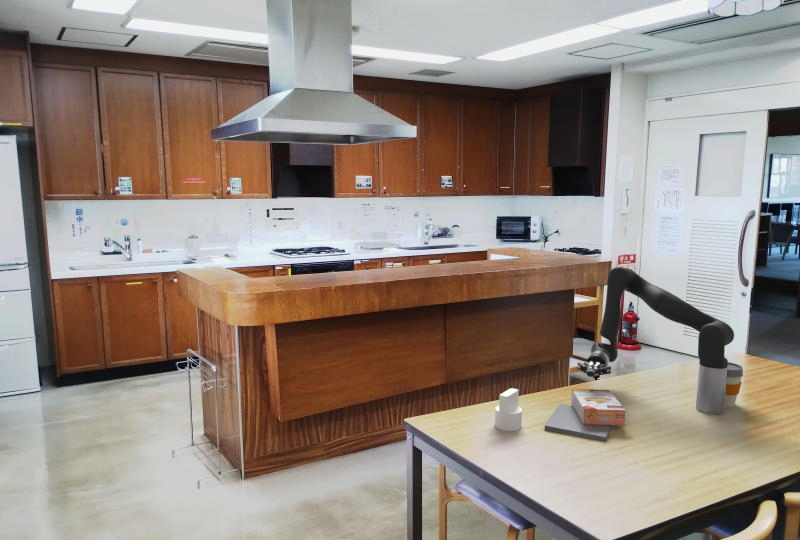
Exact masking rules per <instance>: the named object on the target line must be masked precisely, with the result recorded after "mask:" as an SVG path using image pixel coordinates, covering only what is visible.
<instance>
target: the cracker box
mask: <svg viewBox="0 0 800 540" xmlns="http://www.w3.org/2000/svg"><path fill="white" fill-rule="evenodd" d="M570 402H571V404H572V406H573V407H574V409H575V410H576V412H577V414H578V416H579V417H580V419H581V421H582V423H583V424H594V425H612V426H625V425H626V424H625V423H626V409H625V408H624V407H623V405H622V404H621V403H620V401H619V400H618V399H617V397H616V396H615V395H614V394H613V393H612V391H611V390H610V389H592V388H591V389H587V388H586V389H585V388H572V389H571V399H570Z"/></svg>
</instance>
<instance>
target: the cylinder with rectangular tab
mask: <svg viewBox="0 0 800 540" xmlns="http://www.w3.org/2000/svg"><path fill="white" fill-rule="evenodd" d="M519 395H520V394H519V389H518V388H513V387H512V388H508V389H507V390H505V391H503V392H502V393H500V394H499V396H498V397H499V400H498V403H499V404H498V405H497V406H495V408H494V409H495V414H494V415H495V416H494V426H495V428H497V429H499V430H501V431H506V432H507V431H508V432H514V431H515V432H516V431H519V430H520V429H521V428H522V421H523V420H522V419H523V409H522V408H521V407H519Z"/></svg>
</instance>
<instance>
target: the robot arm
mask: <svg viewBox="0 0 800 540" xmlns="http://www.w3.org/2000/svg"><path fill="white" fill-rule="evenodd" d="M606 284H607V286H606V297H605V298H606V299H605V306H604V312H603V318H602V322H601V325H600V330H599V335H600V336H601V337H603V338H605V339H607V340H608V341H609V344H608V343H604V342H601V341H596V342H594V343H592V346H591V349H590V355H589V357H587V359H586V361H585V362H580V361H578V362H577V367H576V369H577V370H578V371H580V372H581V373H584V374H586V376H587V377H588V378H589V377H590V378H591V377H595V376H596V375H598V376H604V375H609V374H611V373H612V367H611V366H609V363H613V362H614V363H615V361H616V360H617V359H618V356H619V355H618V353H619V352H618V335H619V330H620V327H621V326H620V325H621V320H622V311H621V300H622V296H623V293H624V291H625V292H627V293H630V294H631V295H634V296H636V297H637V298H639V299H640V300H641V301H643V302H644V303H645V304H646V305H647V306H648V307H649V308H650V309H651V310H652V311H654V312H655V313H656V314H659V316H662V317H663V318H665V319H667V320H670V321H672V322H675V323H677V324H681V325H684V326H688V327H690V328H692V329H693V330H694V329H695V330H696V331H697V332H699V334H698V341H697V342H698V343H697V344H698V345H697V347H698V348H697V355H698V359H699V364H698V365H699V366H698V377H697V378H698V379H697V389H696V398H695V399H696V400H695V408H696V410H698V411H699V412H702V413H705V414H709V415H724V414H725V407H724V406H725V395H726V378H727V367H728V362H729V360H728V358H726V357H725V347H726V346H728V345H730V344H731V343H732V342H734V341H733V340H734V339H735V333H734V332H735V331H734V329H733V328H732V327H731V325H729V324H728V323H727V322H725V321H723V320H721V319H718V318H716V317H714V316H711V315H709V314H707V313H705V312H703V311H701V310H700V309H698V308H696V307H695V306H693V305H691V304H690V303H689V302H686V301H685V300H683V299H682V298H680V297H678V296H676V295H674V294H673V293H671V292H670V291H668V290H666V289H663V288H661V287H659V286H658V285H655V284H653V283H650V282H649V281H648V280H646V279H645V278H643V277H642V276H641V275H639V274H638V273H637V272H635V271H634V270H633V269H630V268H628V267H624V266H616V267H613V268H612V269H611V270H610V271H609V273H608V275H607V283H606Z"/></svg>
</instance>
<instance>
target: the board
mask: <svg viewBox="0 0 800 540" xmlns="http://www.w3.org/2000/svg"><path fill="white" fill-rule="evenodd" d="M612 428H613V425H594V424H583V423H582V421H581V419H580V417H579V416H578V414H577V412H576V410H575V409H574V407H573V405H571V404H567V403H561V402H560V403H559V404H558V406H557V407H556V408H555V410H554V412H553V413H551V415H550V417H549V418H548V420H547V421H546V423H545V424H544V431H551V432H555V433H559V434H564V433H565V434H566V435H570V436H576V437H580V438H581V437H582V438H585V439H591V440H596V441H601V442H607V440H608V438H607V437H609V434H610V433H609V432H611V430H612Z"/></svg>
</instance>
